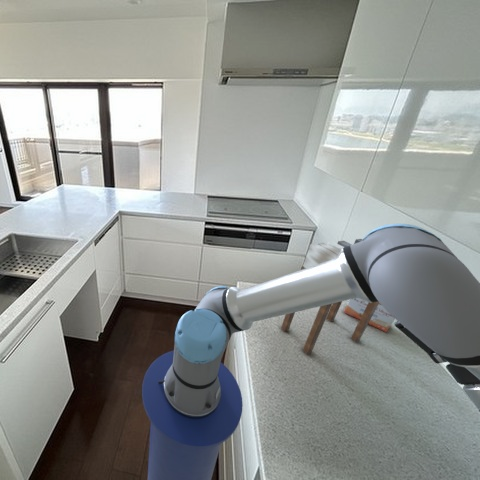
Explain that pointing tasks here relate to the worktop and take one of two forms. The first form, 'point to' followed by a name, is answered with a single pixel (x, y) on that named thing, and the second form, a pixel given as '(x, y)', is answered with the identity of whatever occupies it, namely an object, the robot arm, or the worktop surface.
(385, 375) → the worktop surface
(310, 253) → the wooden side table
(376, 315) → the cracker box
